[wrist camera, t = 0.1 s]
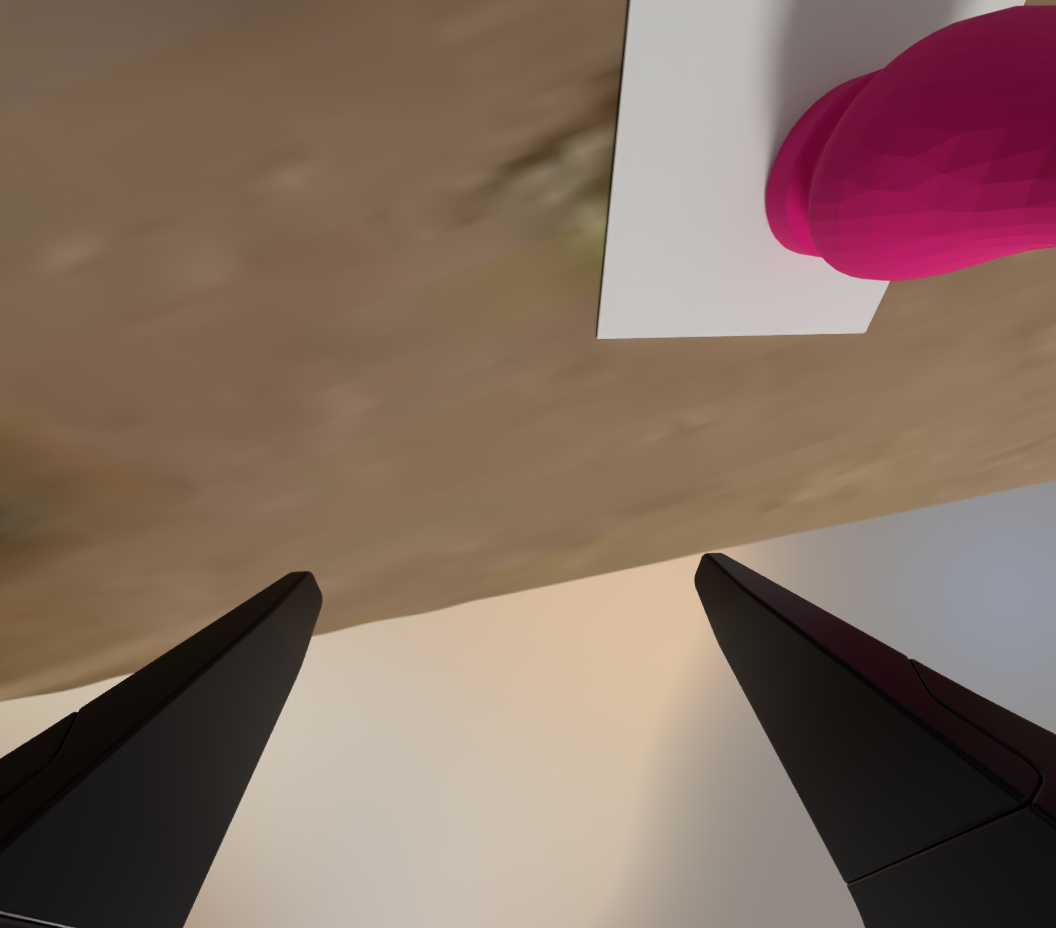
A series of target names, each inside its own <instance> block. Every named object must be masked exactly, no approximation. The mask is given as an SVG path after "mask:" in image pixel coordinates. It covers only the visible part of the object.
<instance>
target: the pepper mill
mask: <svg viewBox="0 0 1056 928" xmlns="http://www.w3.org/2000/svg"><path fill="white" fill-rule="evenodd" d="M766 215H767V219H768V223H769V226H770V229H771V232H772V233H773V235H774V237H775V238H776V239H777V240H778V241H779V242H780V243H781V245H782V246H783V247H784V248H786V249H788V250H790V251H792V252H795V253H798V254H802V255H808V256H815V257H821V258H823V259H824V260H825V262H826V263H828V264H829V265H830V266H832V267H833V268H834V269H835V270H837V271H838V272H841V273H843V274H846V275H848V276H850V277H855V278H860V279H868V280H881V281H904V280H910V279H917V278H923V277H929V276H935V275H941V274H945V273H949V272H953V271H956V270H960V269H964V268H967V267H971V266H974V265H977V264H981V263H984V262H987V261H990V260H994V259H997V258H1000V257H1004V256H1008V255H1012V254H1017V253H1021V252H1025V251H1029V250H1037V249H1045V248H1053V247H1056V5H1055V6H1014V7H1010V8H1006V9H1002V10H998V11H994V12H991V13H987V14H983V15H979V16H976V17H972V18H969V19H965V20H962V21H958V22H955V23H952V24H950V25H948V26H946V27H944V28H942V29H940V30H938V31H935V32H933V33H932V34H930V35H928V36H926V37H925V38H923V39H921V40H920V41H918V42H916V43H915V44H913V45H912V46H910V47H909V48H908V49H906V50H905V51H904V52H902V53H901V54H900V55H898V56H897V57H896V58H894V59H893V60H892V61H891V62H890V63H889V64H888V65H887V66H886V67H884V68H883V69H880V70H877V71H874V72H871V73H868V74H865V75H863V76H860V77H857V78H854V79H851V80H849V81H847V82H845V83H842V84H840V85H838V86H837V87H835V88H833V89H832V90H830V91H829V92H827V93H826V94H825V95H823V96H822V97H821V98H820V99H818V100H817V101H816V102H815V103H814V104H813V105H812V106H811V107H810V108H809V109H808V110H807V111H806V112H805V113H804V114H803V115H802V117H801V118H800V119H799V120H798V121H797V123H796V124H795V126H794V127H793V128H792V130H791V131H790V133H789V134H788V136H787V138H786V139H785V141H784V142H783V144H782V146H781V148H780V150H779V152H778V155H777V157H776V160H775V162H774V164H773V167H772V171H771V174H770V178H769V181H768V185H767V194H766Z"/></svg>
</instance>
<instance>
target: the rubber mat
mask: <svg viewBox="0 0 1056 928" xmlns="http://www.w3.org/2000/svg"><path fill="white" fill-rule="evenodd" d="M1025 1H1026V0H629V9H628V19H627V29H626V40H625V50H624V60H623V71H622V81H621V91H620V101H619V112H618V122H617V132H616V143H615V153H614V163H613V174H612V184H611V194H610V204H609V215H608V225H607V235H606V246H605V256H604V266H603V277H602V287H601V297H600V307H599V318H598V328H597V339H612V338H658V337H704V336H750V335H795V334H841V333H865V332H866V330H867V328H868V326H869V324H870V322H871V320H872V317H873V315H874V313H875V311H876V309H877V307H878V305H879V303H880V301H881V299H882V297H883V295H884V293H885V291H886V288H887V286H888V284H889V282H890V281H881V280H868V279H860V278H855V277H850V276H848V275H846V274H843V273H841V272H838V271H837V270H835V269H834V268H833V267H832V266H830V265H829V264H828V263H826V262H825V260H824V259H823V258H821V257H815V256H808V255H802V254H798V253H795V252H792V251H790V250H788V249H786V248H784V247H783V246H782V245H781V243H780V242H779V241H778V240H777V239H776V238H775V237H774V235H773V233H772V232H771V229H770V226H769V223H768V219H767V215H766V194H767V185H768V181H769V178H770V174H771V171H772V167H773V164H774V162H775V160H776V157H777V155H778V152H779V150H780V148H781V146H782V144H783V142H784V141H785V139H786V138H787V136H788V134H789V133H790V131H791V130H792V128H793V127H794V126H795V124H796V123H797V121H798V120H799V119H800V118H801V117H802V115H803V114H804V113H805V112H806V111H807V110H808V109H809V108H810V107H811V106H812V105H813V104H814V103H815V102H816V101H817V100H818V99H820V98H821V97H822V96H823V95H825V94H826V93H827V92H829V91H830V90H832V89H833V88H835V87H837V86H838V85H840V84H842V83H845V82H847V81H849V80H851V79H854V78H857V77H860V76H863V75H865V74H868V73H871V72H874V71H877V70H880V69H883V68H884V67H886V66H887V65H888V64H889V63H890V62H891V61H892V60H893V59H894V58H896V57H897V56H898V55H900V54H901V53H902V52H904V51H905V50H906V49H908V48H909V47H910V46H912V45H913V44H915V43H916V42H918V41H920V40H921V39H923V38H925V37H926V36H928V35H930V34H932V33H933V32H935V31H938V30H940V29H942V28H944V27H946V26H948V25H950V24H952V23H955V22H958V21H962V20H965V19H969V18H972V17H976V16H979V15H983V14H987V13H991V12H994V11H998V10H1002V9H1006V8H1010V7H1014V6H1023V5H1024V3H1025Z"/></svg>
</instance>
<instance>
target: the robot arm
mask: <svg viewBox="0 0 1056 928" xmlns="http://www.w3.org/2000/svg"><path fill="white" fill-rule="evenodd" d="M694 581H695V587H696V590H697V592H698V595H699V597H700V600H701V602H702V605H703V607H704V610H705V612H706V615H707V617H708V620H709V622H710V625H711V627H712V629H713V632H714V635H715V637H716V639H717V641H718V643H719V646H720V648H721V650H722V652H723V654H724V655H725V657H726V659H727V661H728V663H729V665H730V667H731V669H732V670H733V672H734V674H735V676H736V678H737V680H738V682H739V684H740V686H741V687H742V689H743V691H744V693H745V695H746V697H747V699H748V701H749V702H750V704H751V706H752V708H753V710H754V712H755V714H756V716H757V718H758V720H759V721H760V723H761V725H762V727H763V729H764V731H765V733H766V735H767V736H768V738H769V740H770V742H771V744H772V746H773V748H774V749H775V751H776V753H777V755H778V757H779V759H780V761H781V763H782V765H783V767H784V769H785V770H786V772H787V774H788V776H789V778H790V780H791V782H792V784H793V785H794V787H795V789H796V791H797V793H798V795H799V797H800V798H801V800H802V802H803V804H804V806H805V808H806V810H807V812H808V814H809V816H810V817H811V819H812V821H813V823H814V825H815V827H816V829H817V831H818V833H819V834H820V836H821V838H822V840H823V842H824V844H825V846H826V848H827V850H828V851H829V853H830V855H831V857H832V859H833V861H834V863H835V865H836V867H837V868H838V870H839V872H840V874H841V876H842V878H843V880H844V881H845V882H846V883H847V887H848V889H849V891H850V893H851V895H852V897H853V899H854V901H855V903H856V906H857V908H858V910H859V912H860V915H861V917H862V920H863V923H864V926H865V928H1056V734H1054V733H1052V732H1050V731H1048V730H1046V729H1044V728H1042V727H1040V726H1038V725H1036V724H1034V723H1032V722H1030V721H1028V720H1026V719H1024V718H1022V717H1021V716H1018V715H1017V714H1015V713H1013V712H1011V711H1009V710H1007V709H1005V708H1003V707H1001V706H999V705H997V704H995V703H993V702H991V701H989V700H987V699H986V698H984V697H982V696H980V695H978V694H976V693H974V692H972V691H971V690H969V689H967V688H965V687H963V686H961V685H960V684H958V683H956V682H954V681H952V680H950V679H948V678H947V677H945V676H943V675H941V674H939V673H937V672H936V671H934V670H932V669H930V668H928V667H927V666H925V665H923V664H921V663H920V662H918V661H916V660H914V659H908V657H907V656H905V655H904V654H902V653H900V652H898V651H897V650H895V649H893V648H891V647H889V646H888V645H886V644H884V643H882V642H881V641H879V640H877V639H875V638H873V637H871V636H869V635H868V634H866V633H864V632H863V631H861V630H859V629H857V628H855V627H854V626H851V625H850V624H848V623H846V622H845V621H843V620H841V619H839V618H837V617H836V616H834V615H832V614H830V613H828V612H826V611H825V610H823V609H821V608H820V607H818V606H816V605H814V604H812V603H810V602H809V601H807V600H805V599H803V598H801V597H800V596H798V595H796V594H794V593H792V592H791V591H789V590H787V589H785V588H783V587H782V586H780V585H778V584H776V583H774V582H773V581H771V580H769V579H767V578H766V577H764V576H762V575H760V574H758V573H757V572H755V571H753V570H751V569H749V568H748V567H746V566H744V565H742V564H740V563H739V562H737V561H735V560H733V559H731V558H730V557H728V556H726V555H724V554H722V553H706V554H704V555H703V556H702V558H701V561H700V564H699V566H698V569H697V571H696V574H695V580H694ZM321 606H322V593H321V591H320V589H319V587H318V585H317V582H316V580H315V578H314V576H313V574H312V573H311V572H309V571H300V572H291V573H289V574H287V575H286V576H284V577H282V578H281V579H279V580H278V581H276V582H275V583H273V584H272V585H270V586H269V587H267V588H266V589H264V590H262V591H261V592H259V593H258V594H256V595H255V596H253V597H252V598H250V599H249V600H247V601H245V602H244V603H242V604H241V605H239V606H238V607H236V608H235V609H233V610H232V611H230V612H228V613H227V614H225V615H224V616H222V617H221V618H219V619H218V620H216V621H215V622H213V623H211V624H210V625H208V626H207V627H205V628H204V629H202V630H201V631H199V632H198V633H196V634H194V635H193V636H191V637H190V638H188V639H187V640H185V641H184V642H182V643H181V644H179V645H177V646H176V647H174V648H173V649H171V650H170V651H168V652H167V653H165V654H164V655H162V656H160V657H159V658H157V659H156V660H154V661H153V662H151V663H150V664H148V665H147V666H145V667H143V668H142V669H140V670H139V671H137V672H136V673H134V674H133V675H131V676H130V677H128V678H126V679H125V680H123V681H122V682H120V683H119V684H117V685H116V686H114V687H113V688H111V689H109V690H108V691H106V692H105V693H103V694H102V695H100V696H99V697H97V698H96V699H94V700H92V701H91V702H89V703H88V704H86V705H85V706H84V707H82V708H81V709H80V710H79V712H73V713H71V714H70V715H68V716H67V717H65V718H63V719H62V720H60V721H59V722H57V723H56V724H54V725H53V726H51V727H49V728H48V729H46V730H45V731H43V732H42V733H40V734H39V735H37V736H36V737H34V738H32V739H31V740H29V741H28V742H26V743H24V744H23V745H21V746H20V747H18V748H17V749H15V750H14V751H12V752H10V753H9V754H7V755H5V756H4V757H2V758H1V759H0V928H183V926H184V924H185V922H186V920H187V918H188V915H189V913H190V911H191V909H192V907H193V904H194V902H195V900H196V898H197V896H198V893H199V891H200V889H201V887H202V885H203V882H204V880H205V878H206V876H207V874H208V871H209V869H210V867H211V865H212V863H213V860H214V858H215V856H216V854H217V851H218V849H219V847H220V845H221V843H222V841H223V838H224V836H225V834H226V832H227V830H228V827H229V825H230V823H231V821H232V819H233V817H234V814H235V812H236V810H237V808H238V805H239V803H240V801H241V799H242V797H243V795H244V792H245V790H246V788H247V786H248V783H249V781H250V779H251V777H252V775H253V772H254V770H255V768H256V766H257V764H258V762H259V759H260V757H261V755H262V753H263V751H264V748H265V746H266V744H267V742H268V740H269V737H270V735H271V733H272V731H273V729H274V726H275V724H276V722H277V720H278V718H279V715H280V713H281V711H282V709H283V707H284V704H285V702H286V700H287V698H288V696H289V693H290V691H291V689H292V687H293V685H294V682H295V680H296V678H297V676H298V673H299V671H300V668H301V666H302V663H303V661H304V658H305V655H306V652H307V649H308V646H309V643H310V640H311V637H312V634H313V631H314V628H315V625H316V622H317V619H318V616H319V613H320V609H321Z"/></svg>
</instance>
